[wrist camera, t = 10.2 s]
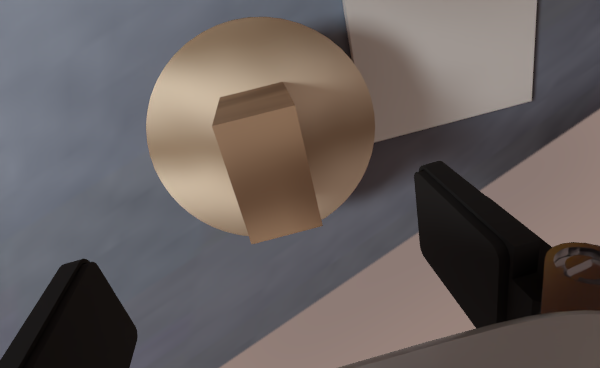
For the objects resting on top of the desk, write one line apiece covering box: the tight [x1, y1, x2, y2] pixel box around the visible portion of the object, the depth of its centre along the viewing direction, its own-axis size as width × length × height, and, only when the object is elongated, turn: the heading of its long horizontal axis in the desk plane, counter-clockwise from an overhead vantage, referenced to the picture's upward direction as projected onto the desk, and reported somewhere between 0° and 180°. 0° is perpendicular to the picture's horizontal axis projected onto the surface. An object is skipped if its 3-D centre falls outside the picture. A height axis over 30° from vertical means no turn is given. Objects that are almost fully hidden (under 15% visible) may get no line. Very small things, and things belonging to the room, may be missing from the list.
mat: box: [342, 0, 537, 142], centre depth 26 cm, size 13×13×1 cm
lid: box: [146, 17, 375, 244], centre depth 20 cm, size 13×13×6 cm
